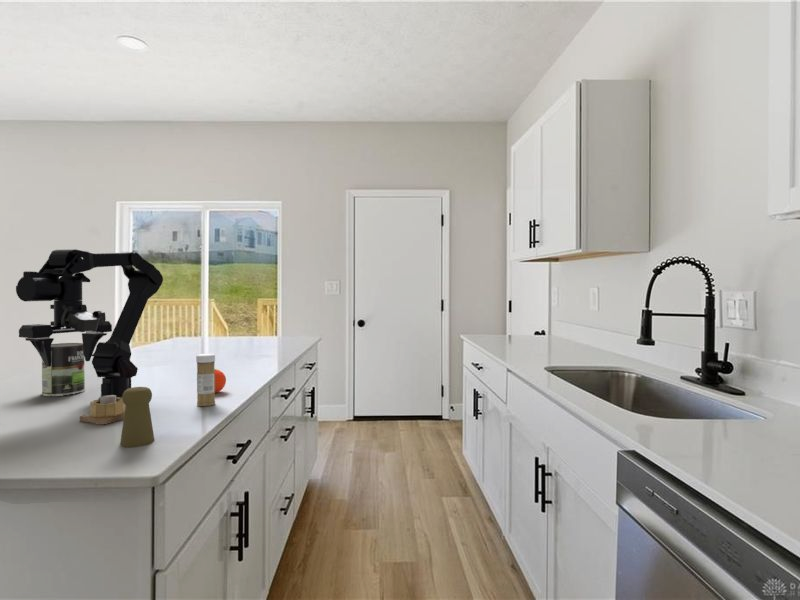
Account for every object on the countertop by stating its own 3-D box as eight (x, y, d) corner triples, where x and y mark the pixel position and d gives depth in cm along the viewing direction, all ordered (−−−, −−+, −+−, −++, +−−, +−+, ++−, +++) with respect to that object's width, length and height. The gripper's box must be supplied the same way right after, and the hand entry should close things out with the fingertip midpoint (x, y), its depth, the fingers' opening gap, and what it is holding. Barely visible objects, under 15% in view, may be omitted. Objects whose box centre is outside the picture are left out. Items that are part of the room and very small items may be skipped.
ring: (112, 408, 113) (112, 396, 113) (132, 411, 111) (132, 399, 110) (83, 415, 107) (83, 402, 107) (104, 419, 104) (104, 405, 104)
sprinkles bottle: (215, 402, 125) (215, 352, 125) (214, 406, 121) (214, 355, 120) (197, 403, 123) (196, 353, 123) (195, 407, 119) (195, 355, 119)
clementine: (200, 390, 139) (200, 367, 139) (224, 388, 142) (224, 365, 142) (201, 396, 132) (201, 371, 131) (227, 394, 134) (227, 369, 134)
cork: (130, 449, 88) (129, 392, 88) (113, 443, 91) (113, 388, 91) (160, 440, 93) (160, 386, 93) (144, 435, 97) (144, 383, 96)
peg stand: (112, 412, 114) (112, 391, 114) (135, 416, 111) (135, 394, 111) (79, 421, 106) (79, 398, 106) (103, 425, 103) (103, 402, 103)
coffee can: (93, 389, 140) (92, 342, 139) (68, 397, 129) (67, 347, 129) (59, 388, 140) (59, 342, 139) (32, 396, 129) (31, 346, 129)
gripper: (48, 302, 101) (48, 372, 102) (126, 300, 119) (126, 360, 119) (17, 301, 106) (17, 368, 106) (97, 299, 123) (97, 357, 123)
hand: (68, 363), depth 114 cm, fingers open, 9 cm apart
